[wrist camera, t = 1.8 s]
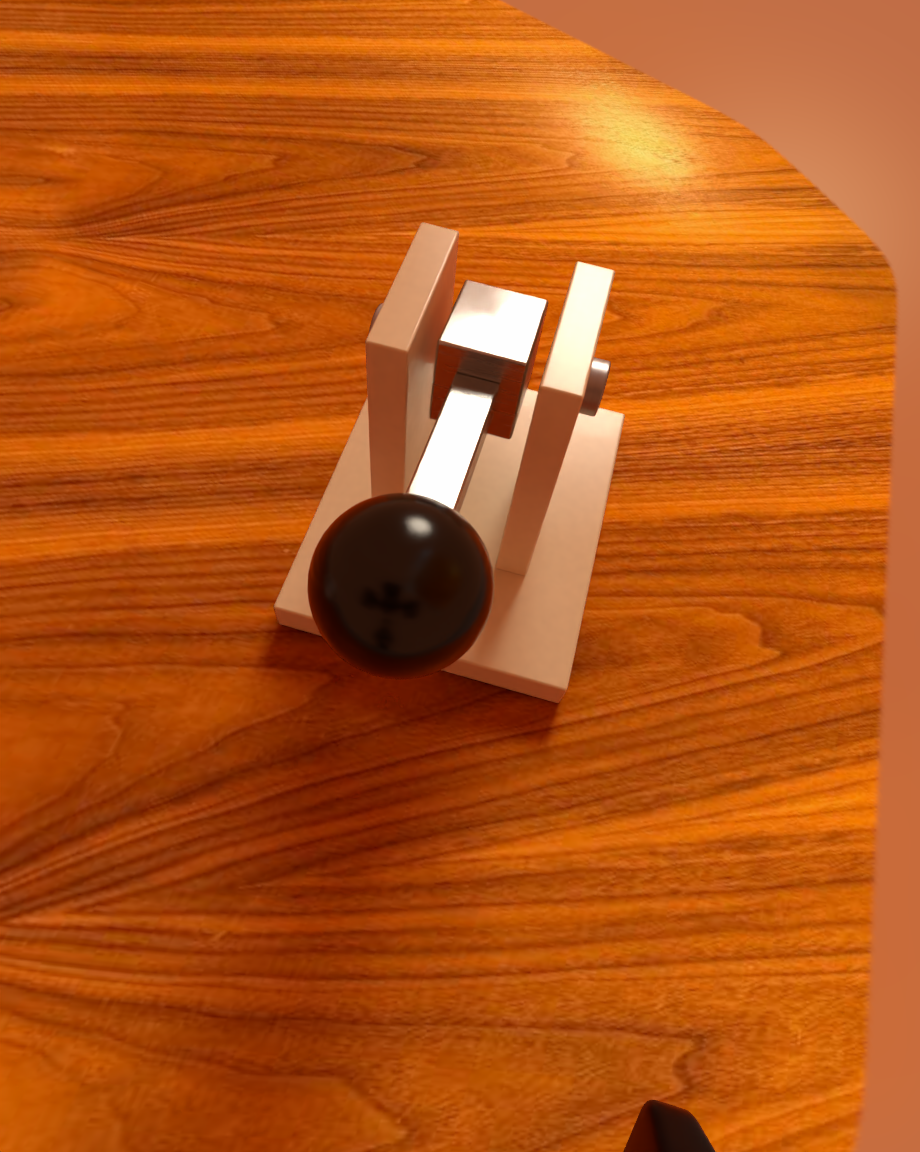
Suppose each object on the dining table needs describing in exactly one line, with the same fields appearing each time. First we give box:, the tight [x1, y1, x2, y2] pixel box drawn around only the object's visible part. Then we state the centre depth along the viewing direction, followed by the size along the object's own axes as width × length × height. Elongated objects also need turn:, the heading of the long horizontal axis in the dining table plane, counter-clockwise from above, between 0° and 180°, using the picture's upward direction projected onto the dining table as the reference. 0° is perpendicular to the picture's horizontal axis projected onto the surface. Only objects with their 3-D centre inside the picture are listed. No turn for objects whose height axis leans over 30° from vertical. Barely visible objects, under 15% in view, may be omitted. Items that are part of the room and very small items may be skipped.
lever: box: [307, 280, 548, 679], centre depth 17 cm, size 11×4×4 cm, turn 165°
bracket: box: [274, 223, 625, 703], centre depth 22 cm, size 11×9×9 cm
